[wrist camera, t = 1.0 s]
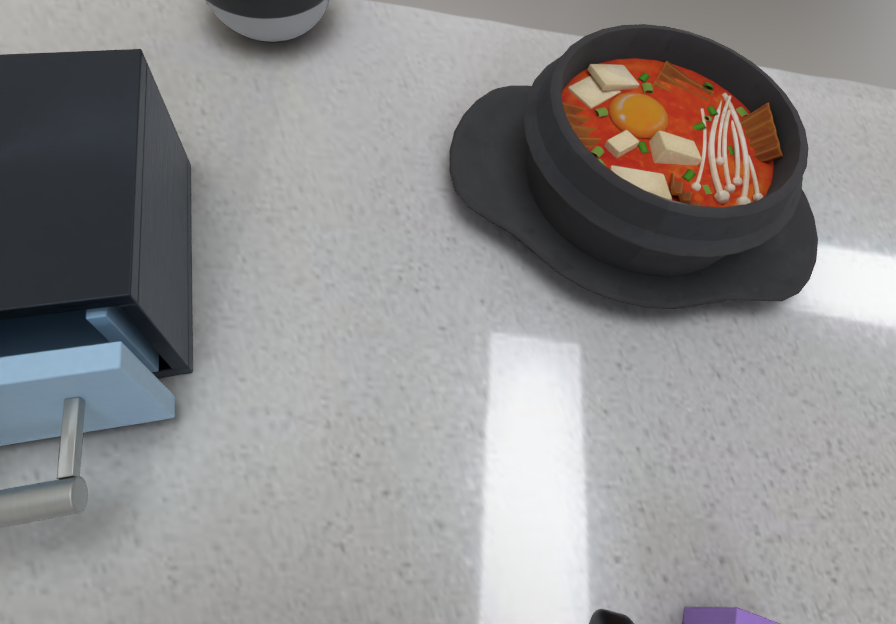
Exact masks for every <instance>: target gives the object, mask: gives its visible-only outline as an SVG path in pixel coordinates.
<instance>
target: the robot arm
mask: <svg viewBox="0 0 896 624" xmlns="http://www.w3.org/2000/svg"><path fill="white" fill-rule="evenodd" d="M589 624H634V623H633V622H632V621H631V619H630V618H629V617H627V616H626V615H623V614H620V613H616V612H612V611H609V610H605V609H598V610H596V611H595V612H594V614H593V615H592V617H591V620H590V622H589Z"/></svg>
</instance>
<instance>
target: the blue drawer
mask: <svg viewBox="0 0 896 624" xmlns="http://www.w3.org/2000/svg"><path fill="white" fill-rule="evenodd" d="M158 371H159V353H158V352H157V351H156V350H155V349H154V347H153V346H152V345H151V344H150V343H149V342H148V341H147V340H146V338H145V337H144V336H143V335H142V334H141V333H140V332H139V330H138V329H137V328H136V327H135V326H134V325H133V324H132V322H131V321H130V320H129V319H128V318H127V317H126V316H125V314H124V313H123V312H122V311H121V310H120V309H119V308H118V306H114V307H106V308H97V309H89V310H81V311H73V312H65V313H56V314H48V315H40V316H32V317H24V318H15V319H7V320H0V446H2V445H9V444H15V443H21V442H27V441H34V440H40V439H46V438H52V437H59V436H61V439H60V450H59V460H58V471H57V479H60V480H55V481H49V482H43V483H37V484H32V485H26V486H20V487H14V488H9V489H3V490H0V528H2V527H8V526H13V525H19V524H24V523H29V522H35V521H40V520H45V519H51V518H56V517H62V516H67V515H72V514H78V513H81V512H82V511H83V510H84V509H85V507H86V505H87V500H88V489H87V485H86V482H85V480H84V479H83V478H82V477H80V467H81V454H82V441H83V432H90V431H96V430H102V429H108V428H115V427H121V426H127V425H133V424H140V423H146V422H152V421H158V420H164V419H171V418H174V417H175V396H174V395H173V394H172V393H171V392H170V391H169V390H168V389H167V388H166V387H165V386H164V385H163V383H162V382H161V381H160V380H159V379H158V378H157V377H156V376H155V375H154V374H153V373H152V372H158Z"/></svg>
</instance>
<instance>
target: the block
mask: <svg viewBox="0 0 896 624" xmlns="http://www.w3.org/2000/svg"><path fill="white" fill-rule="evenodd" d="M683 624H779V623H777V622H774V621H771V620H769V619H766V618H763V617H761V616H758V615H756V614H753V613H750V612H748V611H745V610H742V609H740V608H730V607H685V610H684V619H683Z"/></svg>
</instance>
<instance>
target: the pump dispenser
mask: <svg viewBox="0 0 896 624" xmlns="http://www.w3.org/2000/svg"><path fill="white" fill-rule="evenodd" d="M205 1H206V3H207V4H208V6H209V7H210V9H211V10H212V11H213V13H214V14H215V15H216V16H217V17H218V18H219V19H220V20H221V21H222V22H223V23H224V24H225V25H227V26H228V27H229V28H231V29H232V30H234V31H235V32H237V33H239V34H241V35H243V36H246V37H248V38H251V39H255V40H260V41H268V42H277V41H285V40H289V39H293V38H296V37H298V36H300V35H302V34H304V33H306V32H307V31H309V30H310V29H311V28H313V27H314V26H315V25H316V24H317V22H318V21H319V20H320V19H321V17H322V16H323V14H324V12H325V10H326V8H327V5H328V2H329V0H205Z"/></svg>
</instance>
